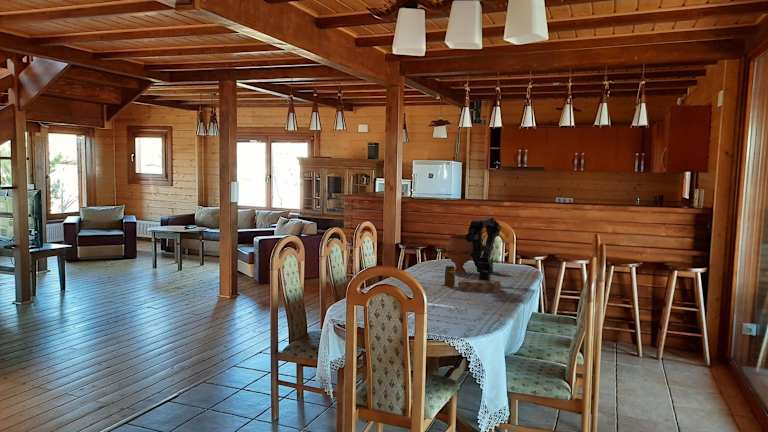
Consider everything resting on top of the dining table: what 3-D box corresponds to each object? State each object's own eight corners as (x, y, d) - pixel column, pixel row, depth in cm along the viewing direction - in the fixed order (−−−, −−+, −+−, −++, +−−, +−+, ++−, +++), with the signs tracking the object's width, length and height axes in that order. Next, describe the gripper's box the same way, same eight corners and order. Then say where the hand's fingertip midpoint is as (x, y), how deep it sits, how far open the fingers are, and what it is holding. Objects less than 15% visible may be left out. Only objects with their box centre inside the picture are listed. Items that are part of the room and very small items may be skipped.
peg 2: (486, 290, 336) (486, 282, 335) (486, 288, 340) (486, 281, 340) (494, 290, 335) (494, 282, 334) (494, 289, 339) (494, 281, 339)
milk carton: (488, 273, 394) (489, 244, 392) (477, 271, 400) (477, 242, 398) (494, 271, 401) (495, 243, 399) (483, 269, 406) (484, 241, 405)
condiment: (457, 286, 348) (458, 266, 347) (446, 287, 344) (447, 267, 343) (449, 284, 354) (450, 265, 353) (439, 285, 350) (439, 266, 349)
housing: (458, 290, 337) (458, 281, 336) (459, 287, 345) (459, 278, 345) (499, 292, 332) (500, 283, 332) (499, 289, 341) (500, 281, 340)
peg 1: (464, 288, 338) (464, 281, 338) (464, 287, 342) (464, 279, 342) (471, 289, 337) (471, 281, 337) (471, 287, 342) (472, 280, 341)
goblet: (452, 275, 384) (452, 238, 382) (441, 270, 403) (442, 234, 401) (478, 274, 389) (479, 237, 387) (466, 269, 408) (467, 234, 406)
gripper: (490, 243, 338) (489, 269, 339) (490, 239, 356) (490, 264, 357) (471, 242, 340) (470, 268, 341) (472, 238, 358) (471, 263, 359)
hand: (476, 266), depth 350 cm, fingers closed
